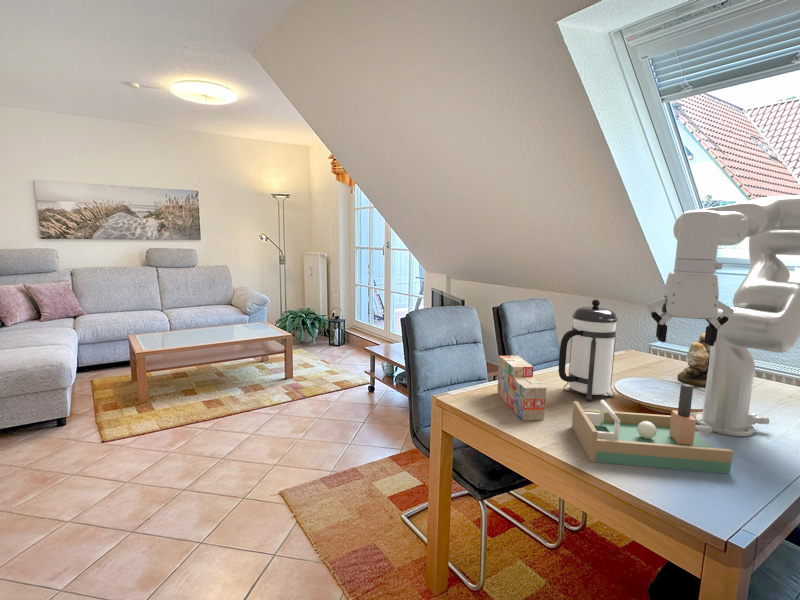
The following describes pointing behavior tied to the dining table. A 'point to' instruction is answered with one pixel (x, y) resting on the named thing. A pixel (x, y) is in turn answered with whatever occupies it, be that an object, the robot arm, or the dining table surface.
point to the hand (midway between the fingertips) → (684, 342)
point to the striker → (685, 419)
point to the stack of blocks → (521, 388)
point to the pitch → (642, 442)
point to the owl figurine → (697, 364)
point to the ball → (646, 430)
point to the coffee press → (590, 350)
